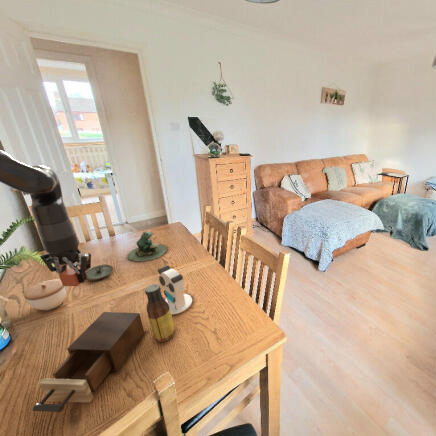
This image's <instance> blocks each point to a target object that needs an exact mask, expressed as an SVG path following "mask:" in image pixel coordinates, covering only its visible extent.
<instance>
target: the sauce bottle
mask: <svg viewBox="0 0 436 436" xmlns="http://www.w3.org/2000/svg"><path fill="white" fill-rule="evenodd" d="M161 290H162V289H161V284H159V283H152V284H149V285H148V286H145V289H144V293H145V295H146V296H147V303H146V312H147V318H148V321H149V324H150V327H151V331H152V334H153V337H154V338H155V341H156V342H160V343H163V342H167V341H169V340H170V339H172V338H173V337H174V336H175V333H176V329H175V327H176V326H175V323H174V320H173V316H172V315H171V311H170V307H169V304H168V303H167V302H166V300H165V299H166V298H164V297H163V294H162V292H161Z"/></svg>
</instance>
